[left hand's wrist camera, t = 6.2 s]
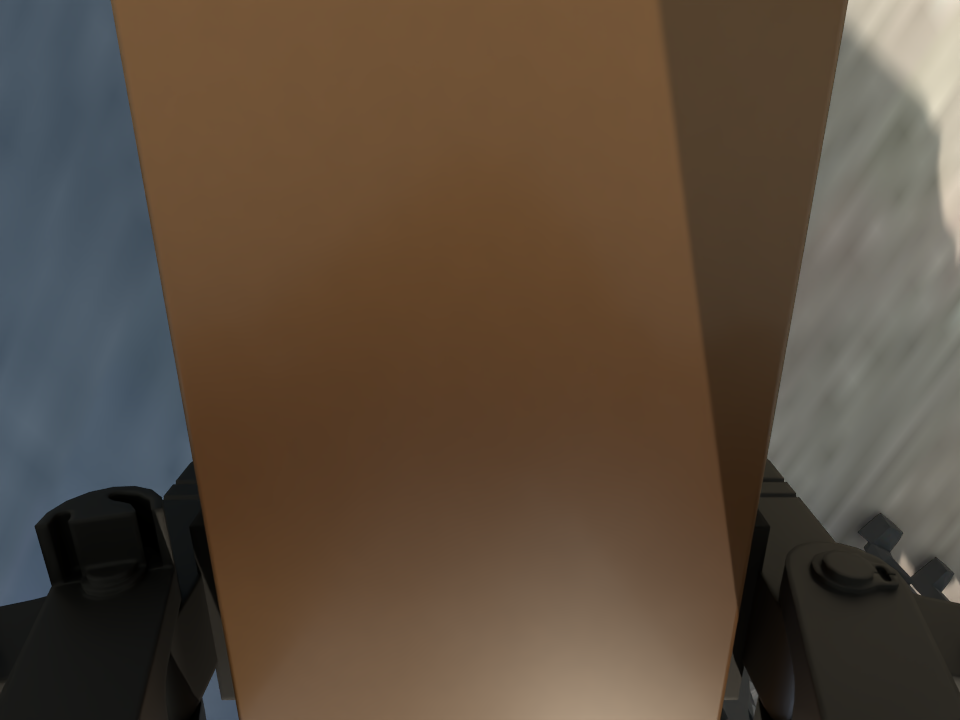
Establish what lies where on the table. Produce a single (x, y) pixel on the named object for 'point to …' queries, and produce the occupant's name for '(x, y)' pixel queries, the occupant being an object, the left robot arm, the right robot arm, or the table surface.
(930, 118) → the table surface
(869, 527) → the toy
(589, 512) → the bar
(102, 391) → the table surface
